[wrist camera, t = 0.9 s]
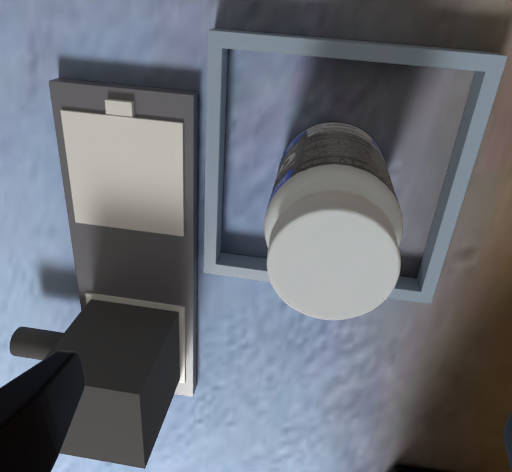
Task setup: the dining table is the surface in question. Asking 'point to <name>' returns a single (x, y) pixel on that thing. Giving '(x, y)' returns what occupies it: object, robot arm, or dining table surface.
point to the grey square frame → (481, 62)
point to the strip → (133, 198)
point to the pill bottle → (333, 224)
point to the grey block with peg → (115, 377)
